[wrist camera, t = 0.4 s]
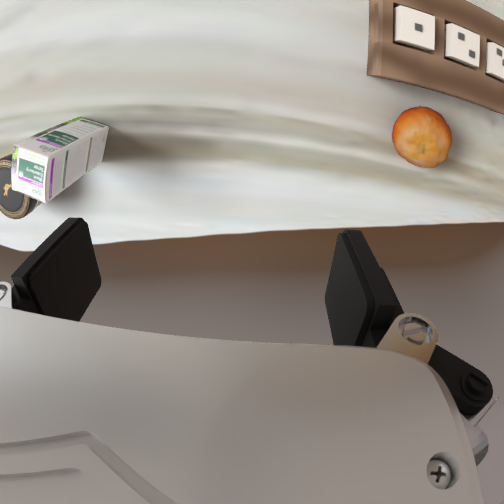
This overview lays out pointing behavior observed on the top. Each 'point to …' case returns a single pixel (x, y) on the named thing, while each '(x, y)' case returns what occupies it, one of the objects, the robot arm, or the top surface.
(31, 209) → the jar
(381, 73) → the wooden slot board
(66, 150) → the syrup box
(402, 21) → the button
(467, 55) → the button
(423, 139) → the fruit
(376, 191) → the top surface
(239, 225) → the top surface
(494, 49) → the button
